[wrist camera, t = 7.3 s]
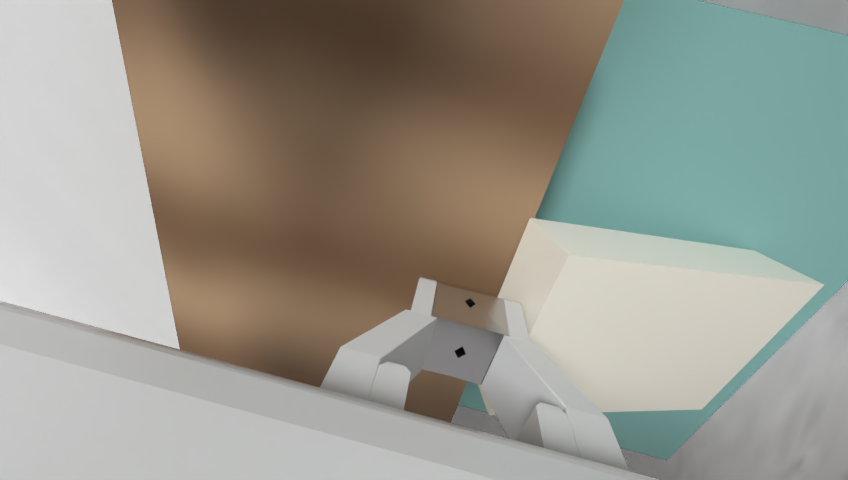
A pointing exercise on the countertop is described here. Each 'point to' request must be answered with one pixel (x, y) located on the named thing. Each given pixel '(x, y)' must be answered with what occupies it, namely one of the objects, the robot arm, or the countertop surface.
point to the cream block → (647, 312)
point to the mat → (711, 158)
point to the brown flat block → (346, 159)
